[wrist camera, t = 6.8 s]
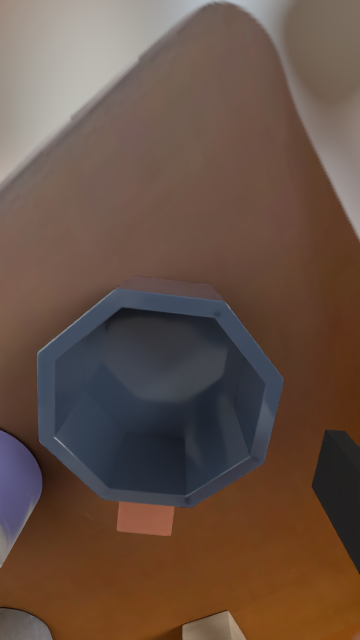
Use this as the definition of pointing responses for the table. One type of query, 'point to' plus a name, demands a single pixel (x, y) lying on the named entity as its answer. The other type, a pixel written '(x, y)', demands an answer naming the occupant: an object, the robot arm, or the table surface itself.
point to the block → (213, 628)
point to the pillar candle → (22, 626)
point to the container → (16, 490)
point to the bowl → (157, 399)
